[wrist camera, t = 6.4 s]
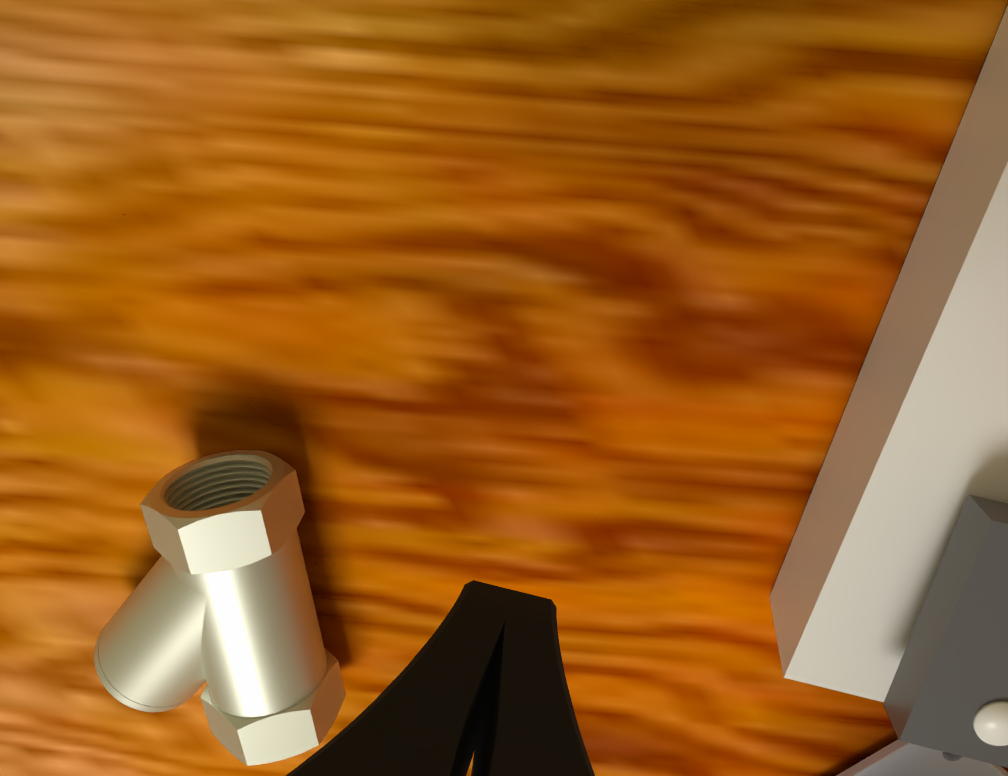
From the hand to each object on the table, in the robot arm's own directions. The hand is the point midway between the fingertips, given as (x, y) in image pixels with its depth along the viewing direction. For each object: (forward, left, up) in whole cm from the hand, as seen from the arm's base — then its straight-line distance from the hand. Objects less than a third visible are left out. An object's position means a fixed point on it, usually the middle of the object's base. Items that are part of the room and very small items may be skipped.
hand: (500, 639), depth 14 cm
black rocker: (-10, -4, -5) cm, 11 cm away
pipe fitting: (+3, +11, -10) cm, 15 cm away
